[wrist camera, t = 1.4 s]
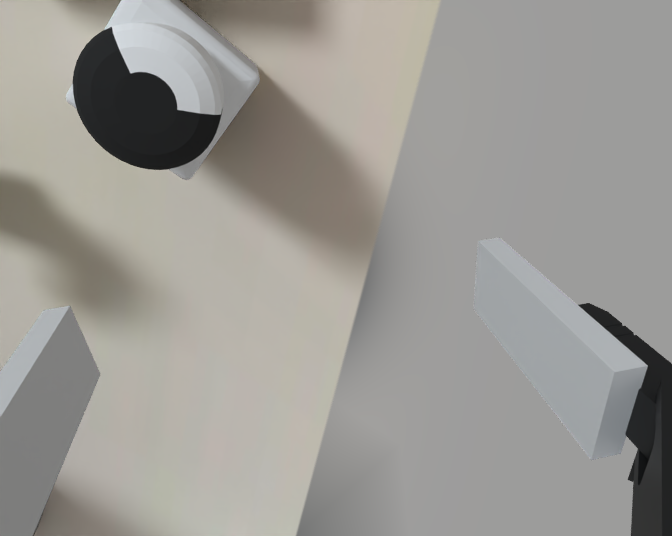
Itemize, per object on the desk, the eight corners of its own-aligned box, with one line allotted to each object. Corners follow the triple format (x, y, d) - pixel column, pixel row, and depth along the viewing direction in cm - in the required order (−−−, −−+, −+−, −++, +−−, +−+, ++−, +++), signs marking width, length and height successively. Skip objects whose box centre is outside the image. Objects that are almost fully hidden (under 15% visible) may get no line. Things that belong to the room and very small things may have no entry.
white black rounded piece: (199, 152, 32) (176, 215, 22) (100, 83, 29) (18, 118, 19) (259, 66, 30) (266, 90, 20) (160, -17, 27) (107, -40, 17)
